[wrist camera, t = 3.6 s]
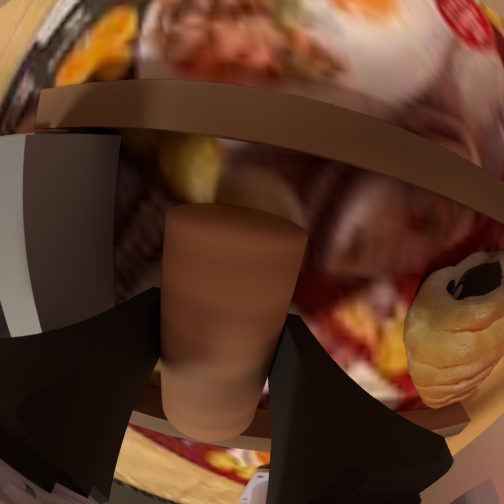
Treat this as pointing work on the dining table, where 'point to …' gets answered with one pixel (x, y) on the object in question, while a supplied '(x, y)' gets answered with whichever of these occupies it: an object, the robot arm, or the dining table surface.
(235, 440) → the rail
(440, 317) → the pastry
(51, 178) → the block
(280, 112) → the rail
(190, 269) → the roller
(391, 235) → the dining table surface
